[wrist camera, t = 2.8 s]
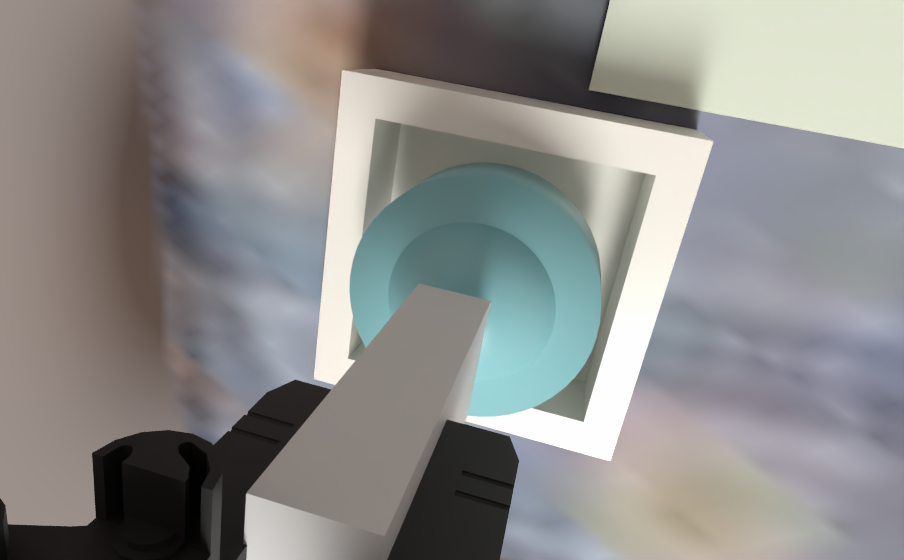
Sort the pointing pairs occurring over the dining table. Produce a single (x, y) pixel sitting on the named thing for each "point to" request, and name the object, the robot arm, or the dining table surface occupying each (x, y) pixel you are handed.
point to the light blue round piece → (490, 275)
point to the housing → (557, 161)
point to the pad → (763, 61)
